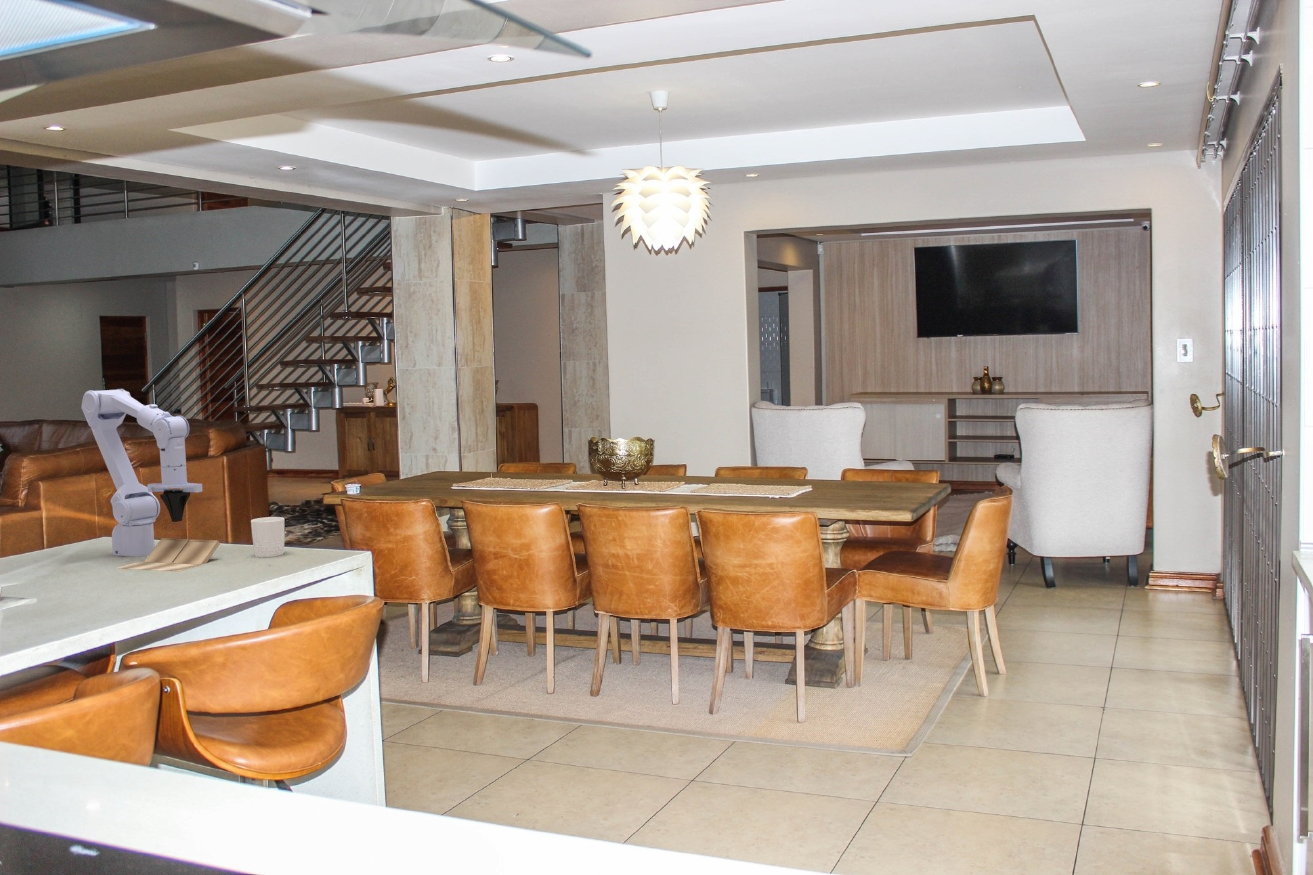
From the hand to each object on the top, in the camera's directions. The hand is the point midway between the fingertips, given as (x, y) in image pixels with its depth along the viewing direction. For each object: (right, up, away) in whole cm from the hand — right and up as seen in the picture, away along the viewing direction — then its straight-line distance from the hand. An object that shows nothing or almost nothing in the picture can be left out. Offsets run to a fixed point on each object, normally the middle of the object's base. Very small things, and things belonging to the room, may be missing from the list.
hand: (177, 521), depth 278 cm
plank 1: (-2, -8, 0) cm, 8 cm away
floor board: (-1, -11, -9) cm, 14 cm away
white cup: (+21, -10, +4) cm, 24 cm away
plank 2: (+6, -8, -3) cm, 10 cm away
